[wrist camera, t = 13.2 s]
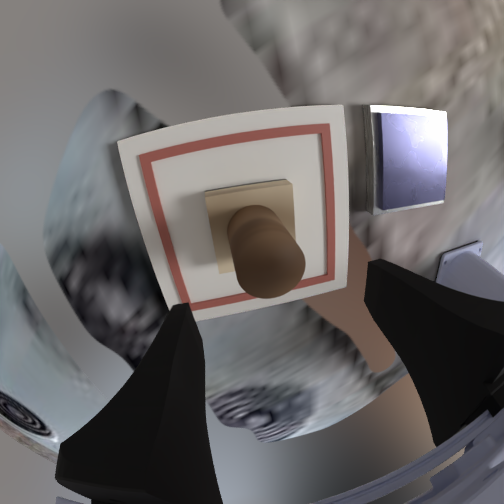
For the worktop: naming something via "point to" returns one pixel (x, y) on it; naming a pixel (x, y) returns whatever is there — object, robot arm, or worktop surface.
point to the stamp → (257, 236)
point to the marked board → (231, 174)
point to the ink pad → (404, 157)
